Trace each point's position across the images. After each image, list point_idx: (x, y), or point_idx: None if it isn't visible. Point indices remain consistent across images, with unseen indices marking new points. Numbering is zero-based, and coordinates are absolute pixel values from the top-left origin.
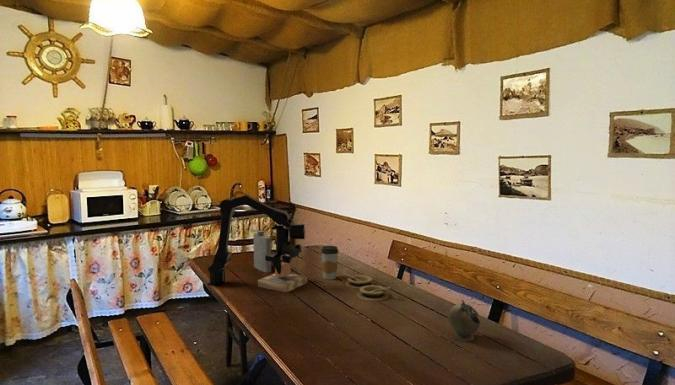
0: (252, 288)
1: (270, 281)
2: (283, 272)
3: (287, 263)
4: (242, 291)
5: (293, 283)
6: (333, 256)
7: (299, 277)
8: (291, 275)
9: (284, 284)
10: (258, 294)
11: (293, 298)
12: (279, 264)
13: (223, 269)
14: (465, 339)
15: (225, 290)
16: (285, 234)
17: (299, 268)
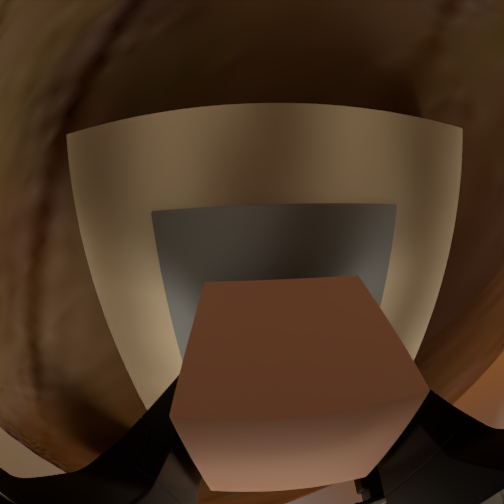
0: (416, 362)
1: (409, 329)
2: (379, 316)
3: (214, 446)
4: (459, 357)
5: (355, 108)
6: None
7: (137, 176)
8: (143, 298)
9: (449, 165)
10: (491, 270)
11: (473, 36)
12: (482, 423)
13: (374, 496)
14: None
15: (448, 399)
16: None
17: (7, 356)
